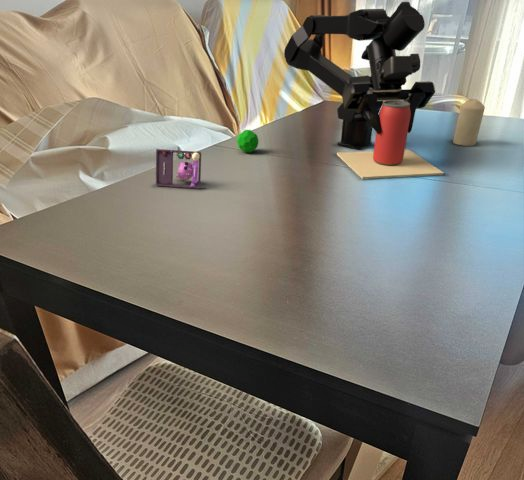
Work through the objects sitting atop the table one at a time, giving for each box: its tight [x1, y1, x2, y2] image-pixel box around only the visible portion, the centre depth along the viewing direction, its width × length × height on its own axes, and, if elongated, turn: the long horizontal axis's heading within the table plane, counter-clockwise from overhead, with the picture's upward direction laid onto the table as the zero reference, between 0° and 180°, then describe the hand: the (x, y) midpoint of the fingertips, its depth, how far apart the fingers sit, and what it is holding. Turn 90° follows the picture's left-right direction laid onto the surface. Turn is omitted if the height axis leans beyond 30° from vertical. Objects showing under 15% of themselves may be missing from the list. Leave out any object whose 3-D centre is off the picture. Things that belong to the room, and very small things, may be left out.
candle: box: [452, 98, 486, 147], centre depth 125 cm, size 6×6×10 cm
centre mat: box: [336, 149, 445, 180], centre depth 113 cm, size 18×18×1 cm
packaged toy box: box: [155, 148, 202, 189], centre depth 100 cm, size 7×5×9 cm
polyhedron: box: [236, 129, 259, 154], centre depth 119 cm, size 5×5×5 cm
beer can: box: [373, 100, 411, 165], centre depth 109 cm, size 7×7×12 cm
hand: (394, 132), depth 107 cm, fingers closed on beer can, 6 cm apart
